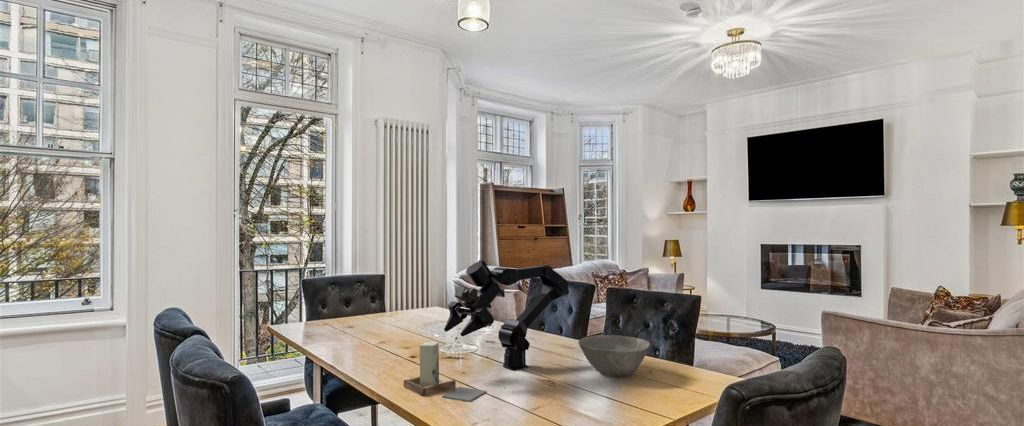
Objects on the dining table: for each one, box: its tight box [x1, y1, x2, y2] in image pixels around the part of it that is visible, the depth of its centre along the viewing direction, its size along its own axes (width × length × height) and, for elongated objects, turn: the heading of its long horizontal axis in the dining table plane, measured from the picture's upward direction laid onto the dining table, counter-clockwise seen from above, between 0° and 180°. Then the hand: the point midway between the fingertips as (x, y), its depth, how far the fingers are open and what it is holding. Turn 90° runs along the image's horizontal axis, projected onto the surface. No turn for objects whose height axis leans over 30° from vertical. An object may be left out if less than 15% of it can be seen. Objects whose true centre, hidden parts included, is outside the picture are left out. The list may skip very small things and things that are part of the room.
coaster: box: [441, 386, 487, 403], centre depth 147 cm, size 9×9×1 cm
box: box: [419, 341, 440, 387], centre depth 154 cm, size 5×4×13 cm
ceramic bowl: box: [577, 334, 651, 377], centre depth 166 cm, size 22×23×10 cm
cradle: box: [403, 376, 457, 397], centre depth 154 cm, size 11×11×2 cm
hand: (452, 333), depth 160 cm, fingers open, 9 cm apart
